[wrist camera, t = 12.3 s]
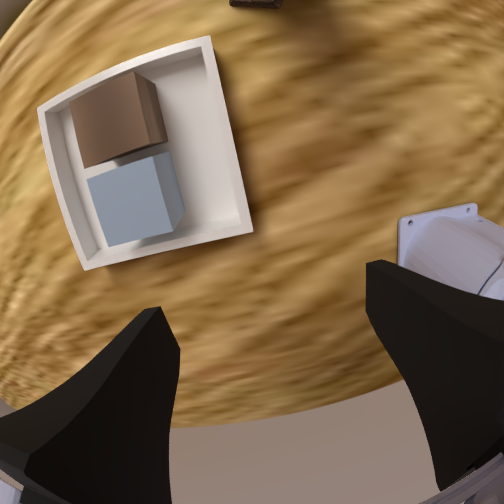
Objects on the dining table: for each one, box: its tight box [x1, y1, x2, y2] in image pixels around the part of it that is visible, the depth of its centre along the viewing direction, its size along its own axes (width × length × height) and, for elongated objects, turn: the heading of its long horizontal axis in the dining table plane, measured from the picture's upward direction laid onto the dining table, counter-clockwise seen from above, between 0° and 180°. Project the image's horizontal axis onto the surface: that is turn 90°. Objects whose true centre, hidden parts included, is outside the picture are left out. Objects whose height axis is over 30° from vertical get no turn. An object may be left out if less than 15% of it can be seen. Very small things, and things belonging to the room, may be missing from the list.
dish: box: [37, 35, 253, 271], centre depth 15 cm, size 12×12×2 cm
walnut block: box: [69, 72, 168, 169], centre depth 13 cm, size 4×4×4 cm
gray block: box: [86, 151, 186, 247], centre depth 15 cm, size 4×4×4 cm
